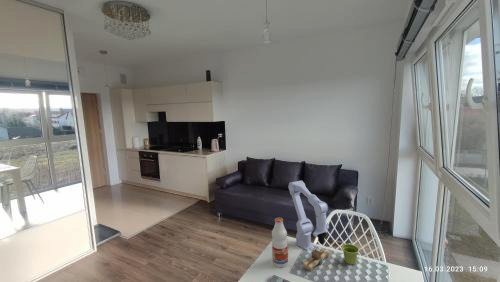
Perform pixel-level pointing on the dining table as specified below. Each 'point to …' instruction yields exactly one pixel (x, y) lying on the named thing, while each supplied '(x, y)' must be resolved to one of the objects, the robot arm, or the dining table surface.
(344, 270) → the dining table surface
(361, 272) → the dining table surface
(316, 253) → the rider
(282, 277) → the dining table surface
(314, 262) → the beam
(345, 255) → the plant pot
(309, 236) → the robot arm
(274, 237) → the fruit juice
